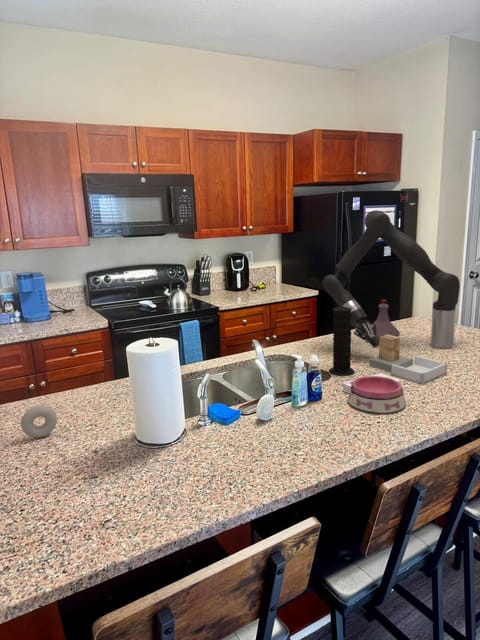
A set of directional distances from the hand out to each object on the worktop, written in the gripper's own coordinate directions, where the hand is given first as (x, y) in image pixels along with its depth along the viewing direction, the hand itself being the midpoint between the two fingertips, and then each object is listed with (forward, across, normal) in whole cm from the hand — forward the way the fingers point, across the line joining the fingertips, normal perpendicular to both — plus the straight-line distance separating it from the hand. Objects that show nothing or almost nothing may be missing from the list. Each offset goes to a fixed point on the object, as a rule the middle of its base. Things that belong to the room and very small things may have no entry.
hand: (376, 346), depth 183 cm
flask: (-7, +27, +17) cm, 32 cm away
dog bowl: (+23, -33, -12) cm, 42 cm away
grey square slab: (+10, 0, 0) cm, 10 cm away
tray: (+19, 0, -9) cm, 21 cm away
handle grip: (+4, -19, +6) cm, 20 cm away
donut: (-13, -126, +22) cm, 129 cm away
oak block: (+7, 0, -2) cm, 7 cm away
